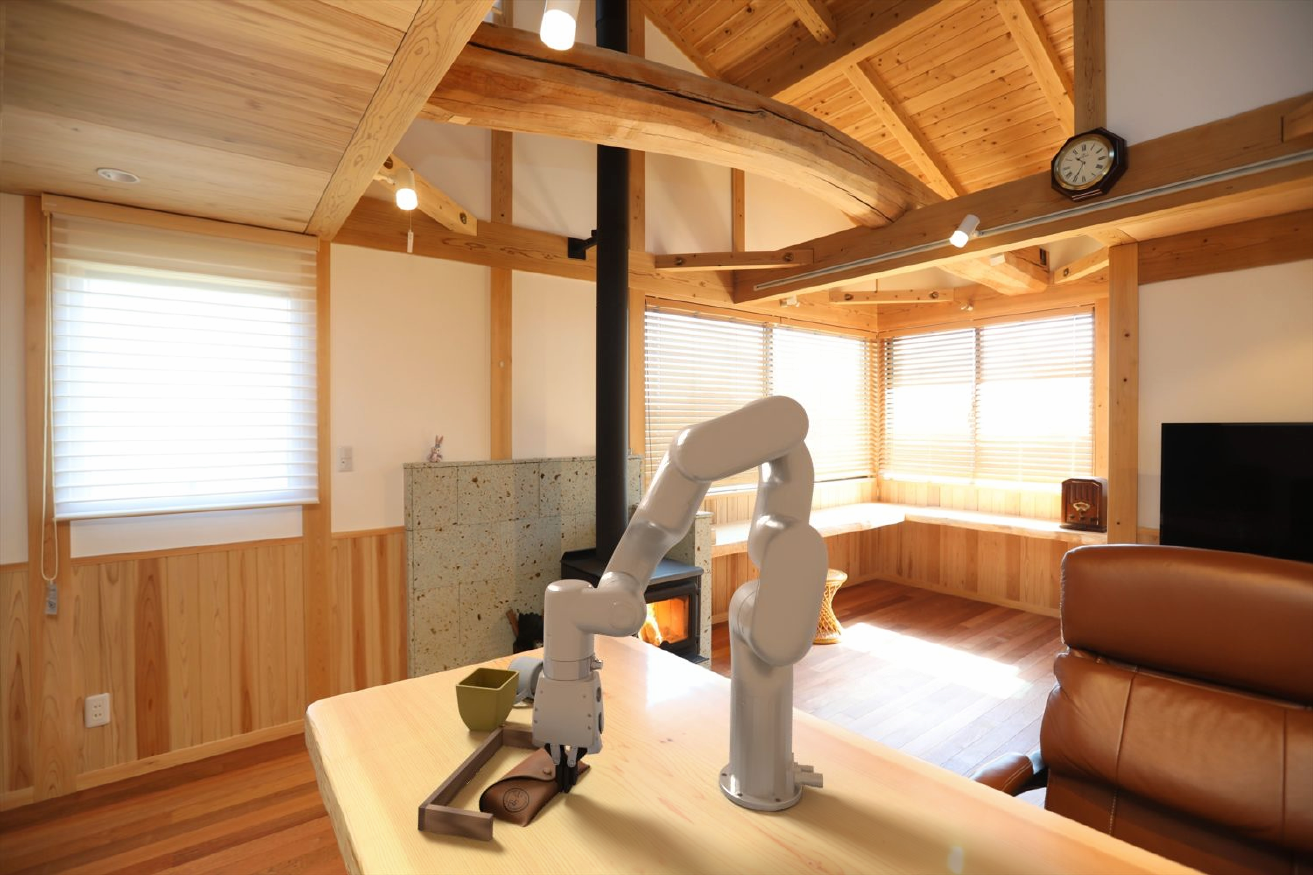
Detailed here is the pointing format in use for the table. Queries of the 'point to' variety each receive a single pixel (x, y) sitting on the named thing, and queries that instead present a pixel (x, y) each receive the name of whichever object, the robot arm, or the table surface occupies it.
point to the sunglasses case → (523, 789)
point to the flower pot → (486, 697)
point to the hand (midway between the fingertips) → (566, 787)
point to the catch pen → (459, 820)
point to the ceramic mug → (526, 676)
